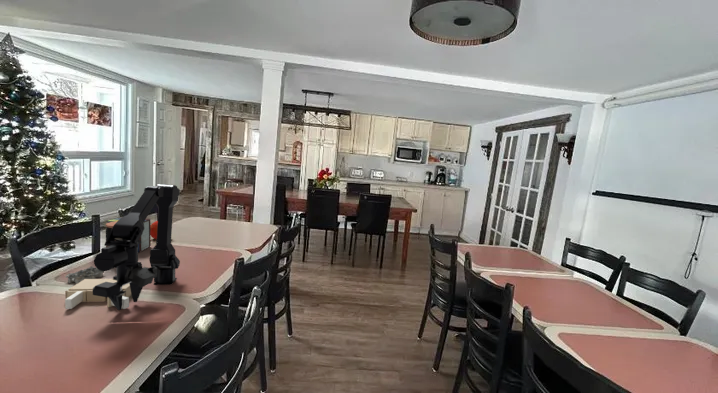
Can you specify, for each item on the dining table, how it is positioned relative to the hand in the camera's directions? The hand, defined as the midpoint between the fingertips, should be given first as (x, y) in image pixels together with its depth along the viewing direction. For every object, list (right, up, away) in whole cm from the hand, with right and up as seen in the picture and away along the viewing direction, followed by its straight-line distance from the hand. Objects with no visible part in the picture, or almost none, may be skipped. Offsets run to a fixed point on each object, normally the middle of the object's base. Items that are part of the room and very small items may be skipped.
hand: (127, 305), depth 104 cm
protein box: (-42, +9, +59) cm, 73 cm away
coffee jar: (-33, +6, +41) cm, 53 cm away
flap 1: (-18, 0, -1) cm, 18 cm away
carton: (-14, +1, +8) cm, 16 cm away
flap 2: (-2, -1, +2) cm, 3 cm away
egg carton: (-31, +3, +20) cm, 37 cm away
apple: (-40, +11, +80) cm, 90 cm away
